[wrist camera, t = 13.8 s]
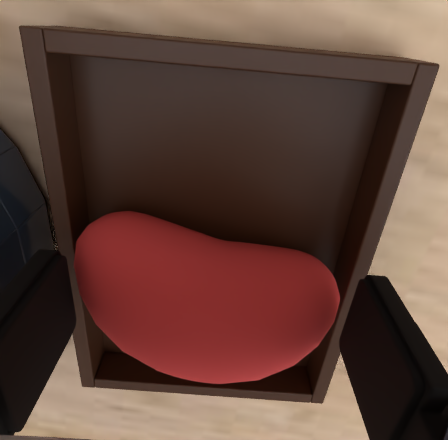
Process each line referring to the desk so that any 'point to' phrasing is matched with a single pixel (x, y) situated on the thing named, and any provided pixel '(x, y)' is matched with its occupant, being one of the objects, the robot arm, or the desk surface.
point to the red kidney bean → (202, 298)
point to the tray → (222, 163)
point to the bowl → (19, 213)
